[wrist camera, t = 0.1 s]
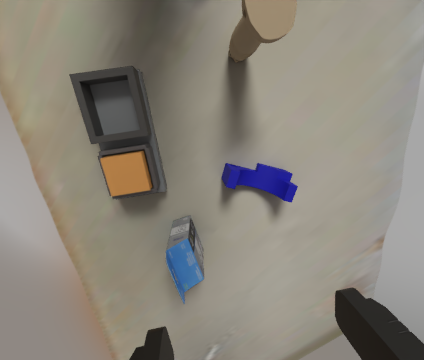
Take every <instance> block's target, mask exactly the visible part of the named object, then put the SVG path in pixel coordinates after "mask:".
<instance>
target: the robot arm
mask: <svg viewBox="0 0 424 360" xmlns="http://www.w3.org/2000/svg"><path fill="white" fill-rule="evenodd" d="M335 317H336V321H337V323H338V325H339V327H340V329H341V331H342V332H343V334H344V335H345V336H346V338H347V339H348V340H349V342H350V343H351V345H352V346H353V348H354V349H355V350H356V352H357V353H358V355H359V356H360V358H361V359H362V360H424V344H423V343H422V342H421V341H420V340H419V339H418V338H417V337H416V336H415V335H414V334H413V333H412V332H410V331H409V330H408V328H407V327H406V326H404V325H403V324H402V323H401V322H399V321H398V319H397V318H396V317H395V316H394V315H393V314H392V313H391V312H390V311H389V310H388V309H387V308H386V307H384V306H383V305H381V304H380V303H378V302H376V301H375V300H373V299H371V298H368V299H365V298H364V297H363V296H362V295H361V294H360V293H359V291H357V290H356V289H355V288H347V289H343V290H338V291H336V293H335ZM130 360H174V353H173V348H172V345H171V341H170V338H169V335H168V332H167V329H166V327H160V328H156V329H151V330H148V332H147V335H146V340H145V345H144V346H142V347H137V348H136V349H135V351H134V353H133V354H132V356H131V358H130Z"/></svg>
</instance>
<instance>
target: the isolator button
mask: <svg viewBox="0 0 424 360" xmlns="http://www.w3.org/2000/svg"><path fill="white" fill-rule="evenodd" d="M100 161H101V164H102V167H103V170H104V174H105V177H106V180H107V183H108V187H109V190H110V193H111V196H118V195H124V194H130V193H136V192H142V191H148V190H151V188H152V182H151V178H150V174H149V170H148V166H147V161H146V157H145V153H144V151H138V152H132V153H125V154H119V155H112V156H106V157H103V158H101V159H100Z"/></svg>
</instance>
